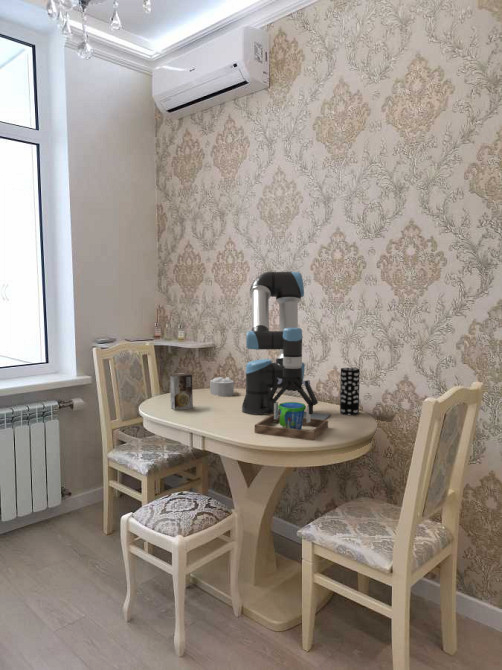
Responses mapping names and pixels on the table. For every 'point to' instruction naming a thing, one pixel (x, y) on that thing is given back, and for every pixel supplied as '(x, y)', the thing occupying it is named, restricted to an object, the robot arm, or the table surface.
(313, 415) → the slate mat
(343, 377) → the spotted tube
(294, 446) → the table surface
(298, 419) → the snack cup
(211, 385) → the lumpy-topped squat cylinder
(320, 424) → the wooden frame
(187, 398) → the coffee box
